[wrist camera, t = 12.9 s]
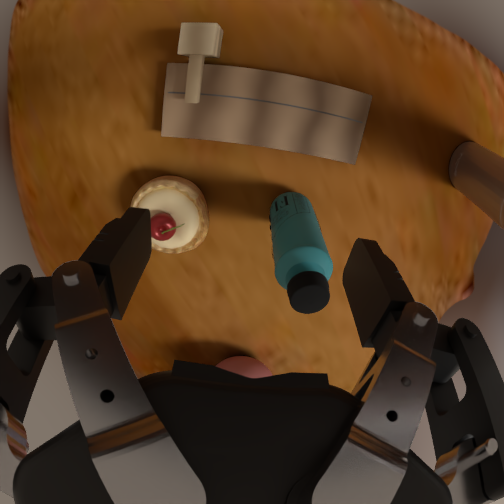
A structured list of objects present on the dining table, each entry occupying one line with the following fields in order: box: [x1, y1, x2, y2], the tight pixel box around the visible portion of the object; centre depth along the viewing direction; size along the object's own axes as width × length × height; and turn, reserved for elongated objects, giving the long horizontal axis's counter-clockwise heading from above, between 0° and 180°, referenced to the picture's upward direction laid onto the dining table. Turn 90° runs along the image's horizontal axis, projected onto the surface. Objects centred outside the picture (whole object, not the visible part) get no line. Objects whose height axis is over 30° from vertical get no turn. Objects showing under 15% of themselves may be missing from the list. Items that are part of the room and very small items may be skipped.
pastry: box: [130, 176, 209, 253], centre depth 40 cm, size 12×12×9 cm
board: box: [161, 63, 372, 165], centre depth 34 cm, size 26×10×2 cm, turn 82°
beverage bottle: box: [269, 192, 333, 314], centre depth 35 cm, size 6×7×20 cm
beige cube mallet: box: [177, 23, 223, 103], centre depth 29 cm, size 4×10×6 cm, turn 172°
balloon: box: [216, 356, 273, 378], centre depth 60 cm, size 15×20×15 cm
